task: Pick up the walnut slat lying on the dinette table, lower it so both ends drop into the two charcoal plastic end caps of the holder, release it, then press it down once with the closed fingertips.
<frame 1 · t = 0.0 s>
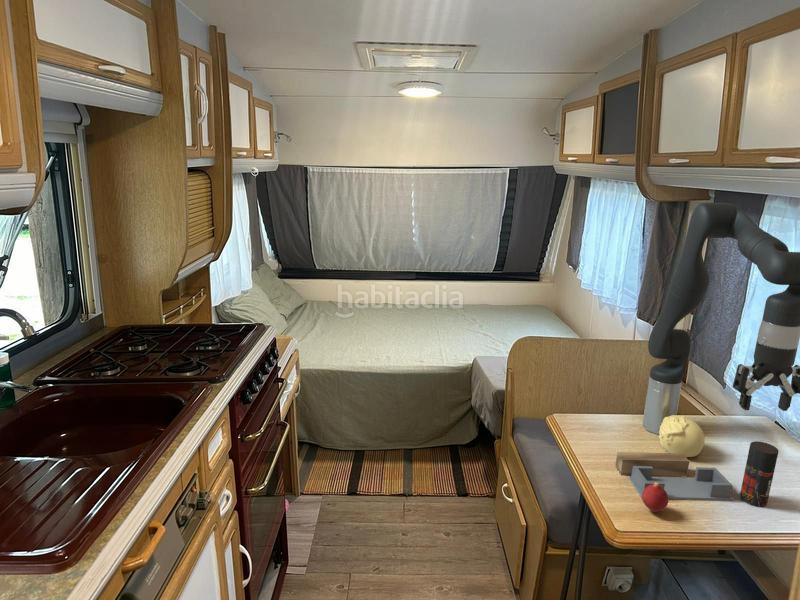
hand: (763, 409, 124), 29 cm above the table, fingers open, 8 cm apart
sculpture: (678, 452, 162), on the table
deodorant: (753, 500, 140), on the table
onion: (652, 511, 135), on the table
endcaps: (678, 489, 144), on the table
slat: (650, 472, 151), on the table
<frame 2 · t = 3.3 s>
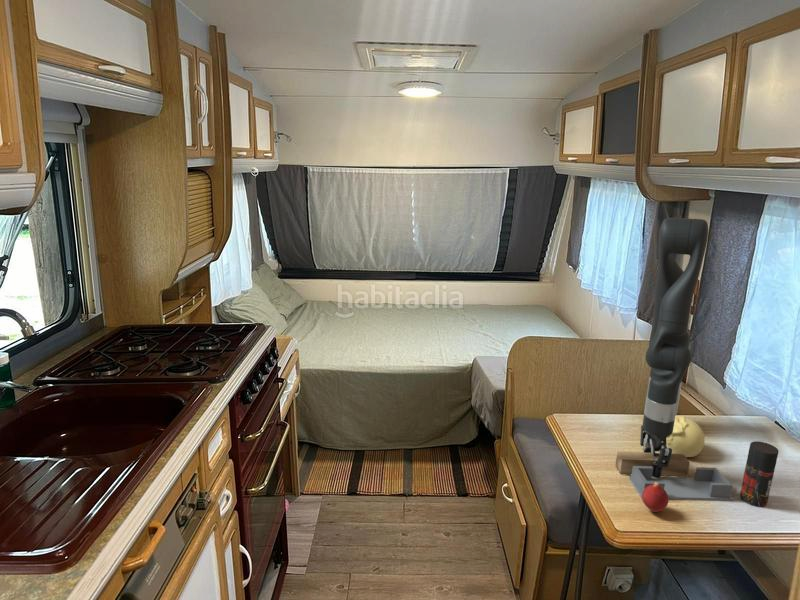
hand: (651, 469, 151), 1 cm above the table, fingers open, 5 cm apart
nothing on the table moved.
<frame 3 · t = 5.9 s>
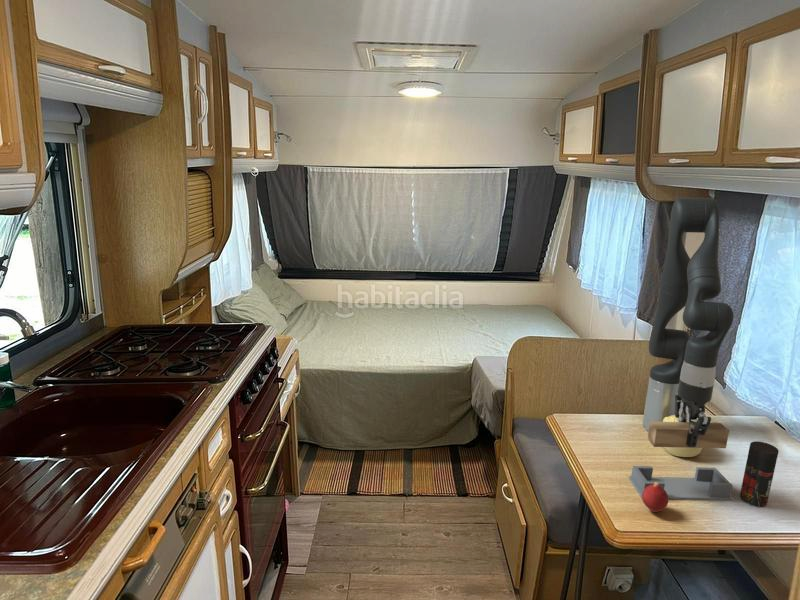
hand: (686, 441, 140), 14 cm above the table, fingers closed on slat, 4 cm apart
slat: (686, 443, 140), point 13 cm above the table, touching gripper
everything else where it was.
when the fingers open (2 cm above the table, at t = 7.8 s): slat stays where it is, resting on endcaps.
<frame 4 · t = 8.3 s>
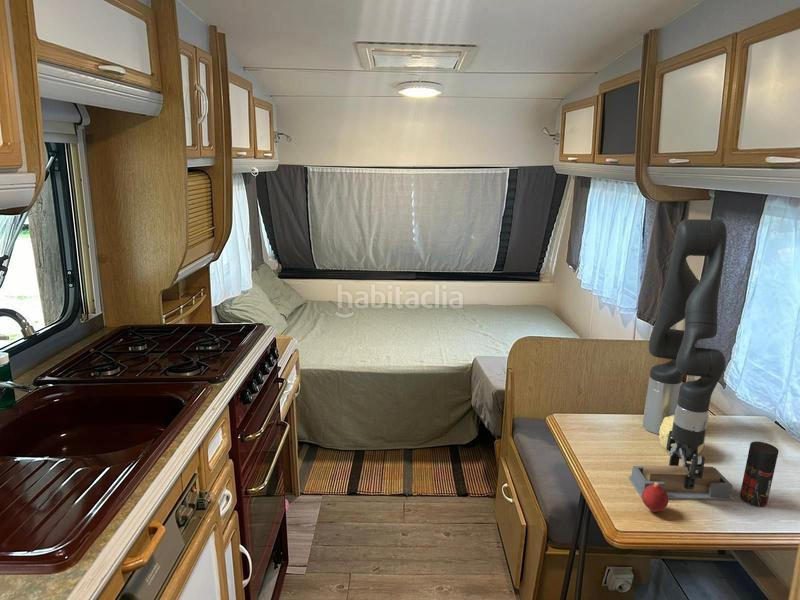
hand: (680, 478, 143), 3 cm above the table, fingers open, 8 cm apart
slat: (679, 486, 143), point 1 cm above the table, touching endcaps
everything else where it was.
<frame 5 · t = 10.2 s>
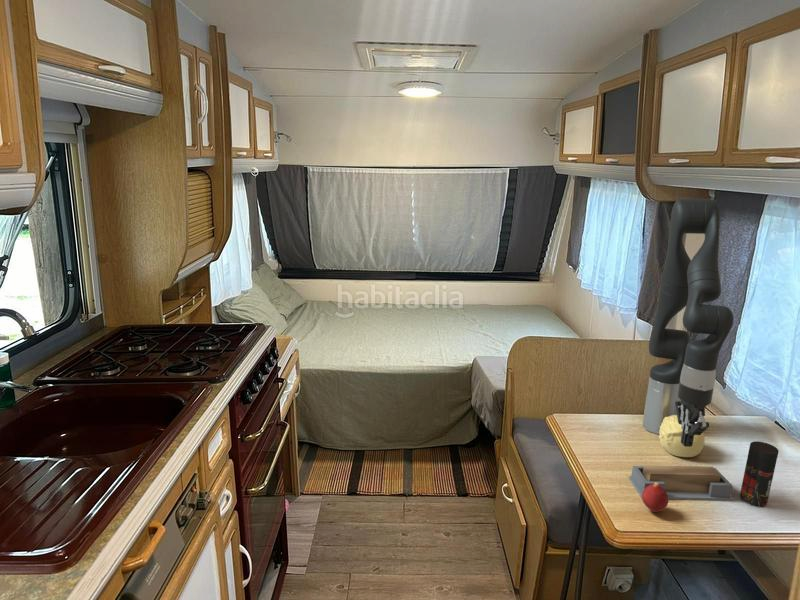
hand: (686, 444, 140), 13 cm above the table, fingers closed
nothing on the table moved.
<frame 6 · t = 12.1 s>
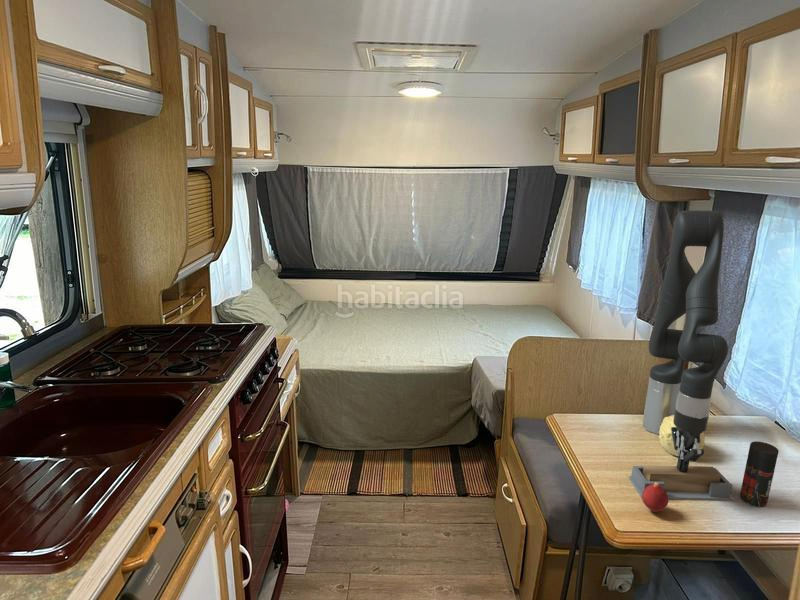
hand: (681, 470, 142), 6 cm above the table, fingers closed
slat: (679, 486, 143), point 1 cm above the table, touching endcaps, gripper
everything else where it was.
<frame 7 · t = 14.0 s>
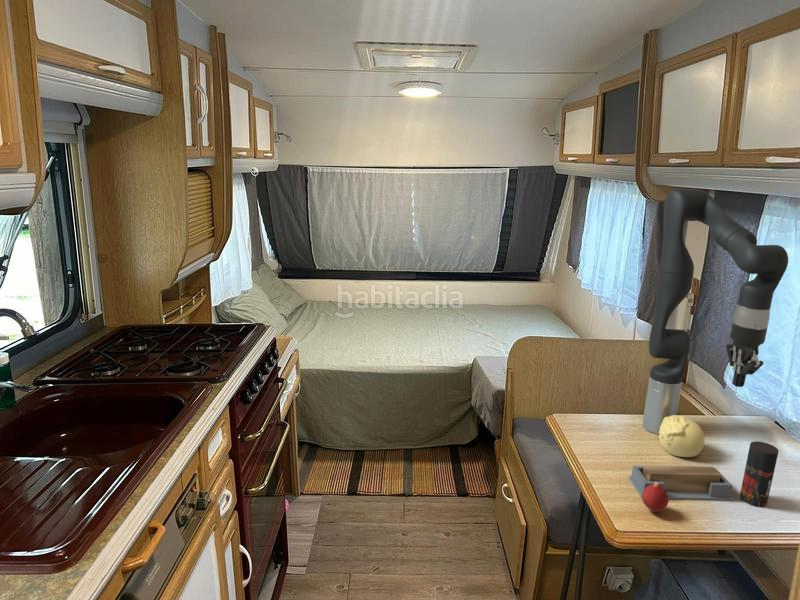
hand: (737, 385, 143), 27 cm above the table, fingers closed
slat: (679, 486, 143), point 1 cm above the table, touching endcaps
everything else where it was.
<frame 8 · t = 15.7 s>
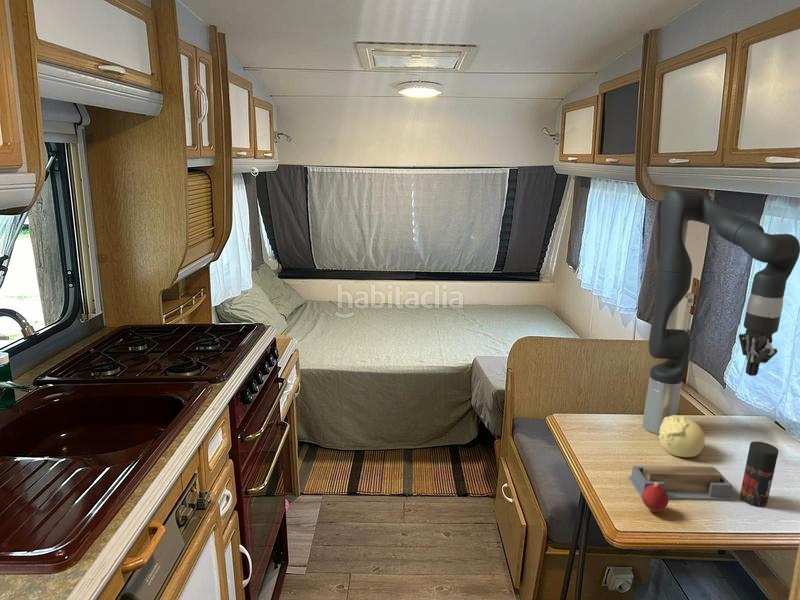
hand: (751, 374, 144), 29 cm above the table, fingers closed
nothing on the table moved.
at the end: slat 0.1 cm off-centre on the endcaps, point 0.6 cm above the endcaps's base; slat tilted 0°; the gripper is holding nothing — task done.
